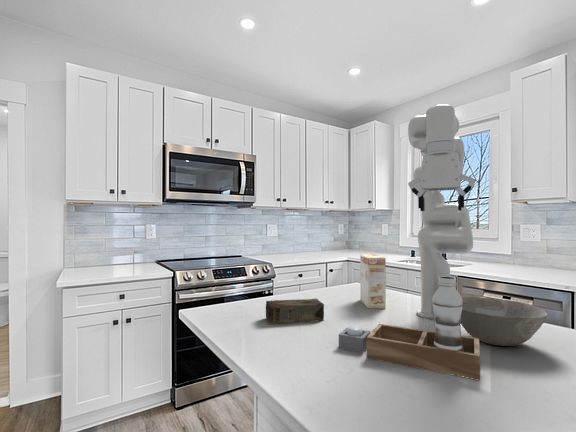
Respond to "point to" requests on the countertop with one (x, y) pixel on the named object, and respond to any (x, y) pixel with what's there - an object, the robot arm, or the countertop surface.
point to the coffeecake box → (373, 281)
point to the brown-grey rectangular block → (294, 311)
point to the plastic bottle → (447, 315)
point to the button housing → (353, 341)
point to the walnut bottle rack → (423, 351)
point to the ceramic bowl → (500, 320)
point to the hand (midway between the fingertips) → (440, 210)
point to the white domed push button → (354, 331)
